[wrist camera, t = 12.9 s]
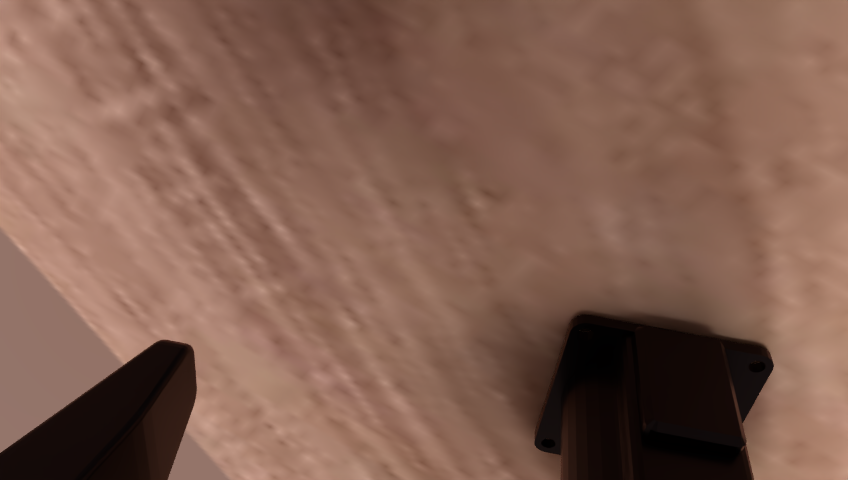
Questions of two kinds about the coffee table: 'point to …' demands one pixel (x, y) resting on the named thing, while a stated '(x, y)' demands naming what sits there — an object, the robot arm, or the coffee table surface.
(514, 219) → the coffee table surface
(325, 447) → the coffee table surface
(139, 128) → the coffee table surface
